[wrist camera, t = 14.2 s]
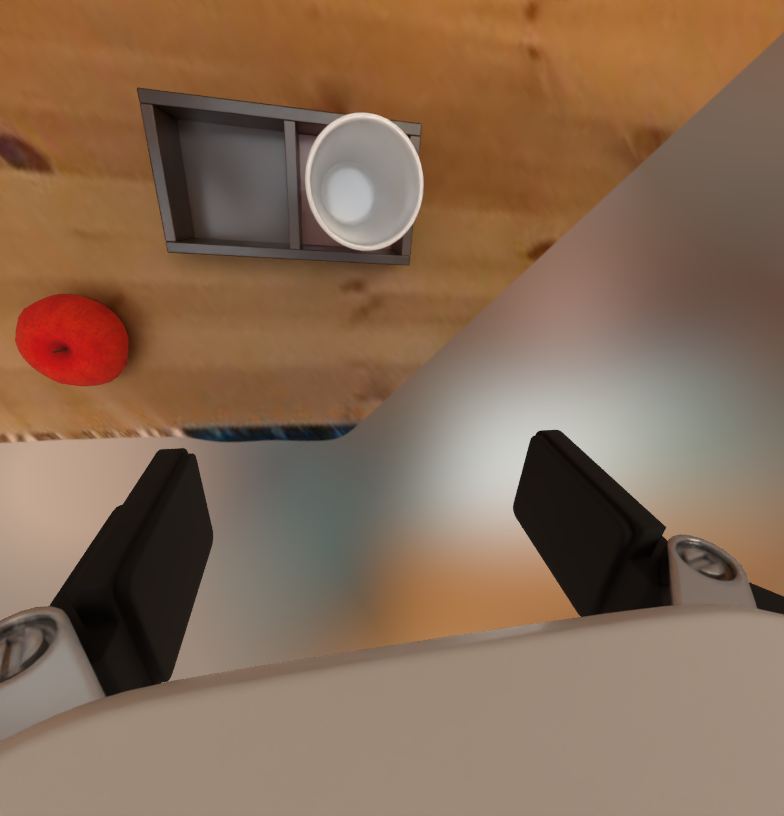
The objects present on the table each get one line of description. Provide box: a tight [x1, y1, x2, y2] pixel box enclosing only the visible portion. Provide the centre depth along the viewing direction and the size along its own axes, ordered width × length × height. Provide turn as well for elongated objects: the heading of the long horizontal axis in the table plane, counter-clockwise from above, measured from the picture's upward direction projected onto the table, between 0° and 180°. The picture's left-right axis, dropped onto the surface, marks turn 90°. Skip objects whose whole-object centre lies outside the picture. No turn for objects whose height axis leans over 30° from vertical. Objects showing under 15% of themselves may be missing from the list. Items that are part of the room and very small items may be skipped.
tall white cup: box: [304, 112, 424, 251], centre depth 27 cm, size 7×7×15 cm
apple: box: [15, 294, 129, 386], centre depth 33 cm, size 8×8×7 cm
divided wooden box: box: [137, 88, 422, 266], centre depth 31 cm, size 10×19×6 cm, turn 86°
